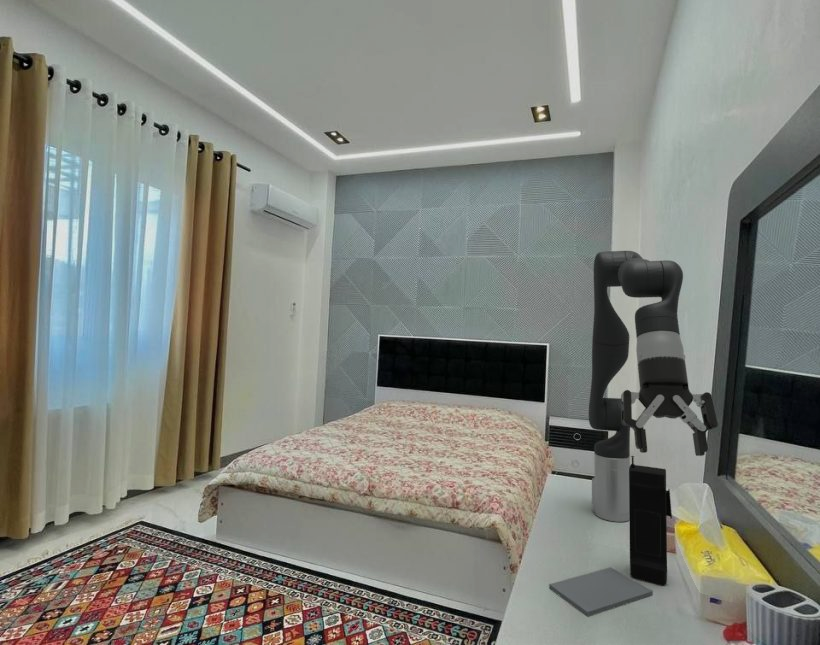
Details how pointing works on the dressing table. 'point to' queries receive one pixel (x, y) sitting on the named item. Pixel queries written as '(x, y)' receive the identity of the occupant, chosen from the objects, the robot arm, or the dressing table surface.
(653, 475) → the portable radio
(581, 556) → the dressing table surface
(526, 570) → the dressing table surface
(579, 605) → the charcoal pad
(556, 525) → the dressing table surface
